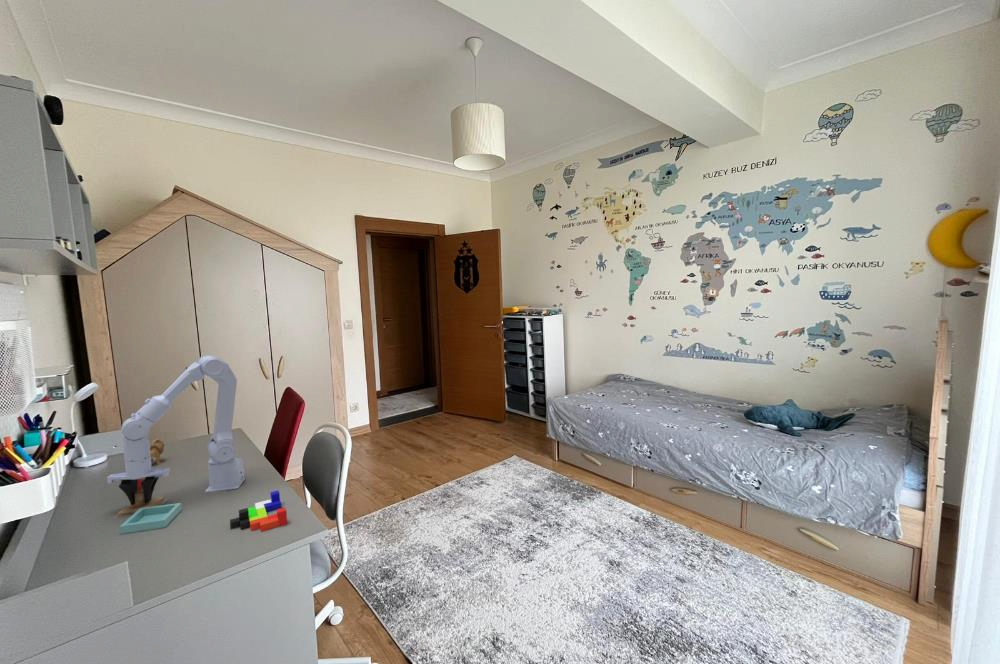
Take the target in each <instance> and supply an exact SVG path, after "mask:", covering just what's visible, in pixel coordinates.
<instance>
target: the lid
mask: <svg viewBox="0 0 1000 664" xmlns="http://www.w3.org/2000/svg"><path fill="white" fill-rule="evenodd" d="M134 496H135V504H134V505H131V503H130V502H129V503H128V504H126V506H125V507H123V508H122V509H121V510H120V511H118V512H117V513H116V515H117V517H120V516H127V517H129V516H128V515H133V514H134V513H135V512H137V511H138V510H139V509H140V508H146V507H153V506H158V505H159V504H160V503H161V502H163V501H164V499H165V496H157V497H152V498H151V501H150V502H148V503H145V501H144V491H143V490H139V491H137V492H135V493H134ZM120 518H121V517H120Z"/></svg>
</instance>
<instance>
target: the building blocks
mask: <svg viewBox="0 0 1000 664" xmlns="http://www.w3.org/2000/svg"><path fill="white" fill-rule="evenodd" d="M269 493H270V499H266V500H262V501H259V502H255V503H254V506H252V507H247V508H246V507H245V508H242V509H238V517H235V518H231V519H229V527H230V530H234V529H236V528H240V530H241V531H242V530H245V529H249V528H250V531H255V530H259V529H260V532H265V531H268V530H271V529H275V528H278V527H281V526H285V525H287V524H288V517H287V509H286V507H283V508H282V501H281V497H280V495H281V493H280V490H274V491H271V492H269ZM273 511H276V513H274V514H271V515H268V514H267V513H270V512H273Z"/></svg>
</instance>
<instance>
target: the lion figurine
mask: <svg viewBox="0 0 1000 664" xmlns="http://www.w3.org/2000/svg"><path fill="white" fill-rule="evenodd" d="M150 443H151V444H150V456H151V465H154V464H155V462H154V458H156V464H157V465H161V464H162V462H161V461H160V460H161V455H162V454H163V452H164V449H165V443H164V440H163V439H161V438H156V439H154V440H152V441H151V442H150Z"/></svg>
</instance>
